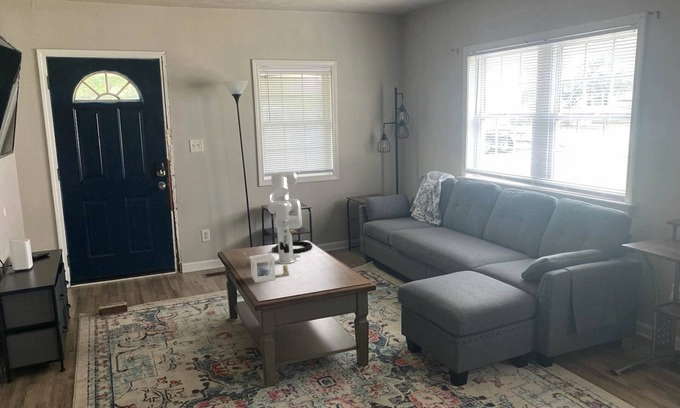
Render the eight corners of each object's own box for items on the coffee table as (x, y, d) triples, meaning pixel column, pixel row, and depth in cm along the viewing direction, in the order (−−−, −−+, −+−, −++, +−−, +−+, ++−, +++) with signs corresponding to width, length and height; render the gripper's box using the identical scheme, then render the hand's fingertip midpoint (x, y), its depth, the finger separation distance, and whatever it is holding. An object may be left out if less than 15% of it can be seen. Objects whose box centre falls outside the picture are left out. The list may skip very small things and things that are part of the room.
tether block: (287, 273, 323) (286, 264, 322) (289, 276, 317) (289, 266, 316) (256, 278, 316) (256, 268, 315) (258, 280, 311) (258, 271, 310)
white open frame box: (271, 274, 323) (270, 253, 321) (276, 279, 311) (275, 258, 309) (250, 277, 318) (249, 256, 316) (254, 283, 306) (253, 261, 304)
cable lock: (317, 246, 374) (277, 251, 363) (318, 251, 375) (277, 257, 363) (304, 238, 399) (266, 243, 388) (305, 243, 400) (267, 248, 388)
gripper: (292, 225, 307) (294, 253, 309) (285, 220, 323) (287, 247, 326) (280, 226, 304) (282, 255, 307) (273, 221, 321) (275, 249, 323)
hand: (284, 251), depth 316 cm, fingers open, 9 cm apart
